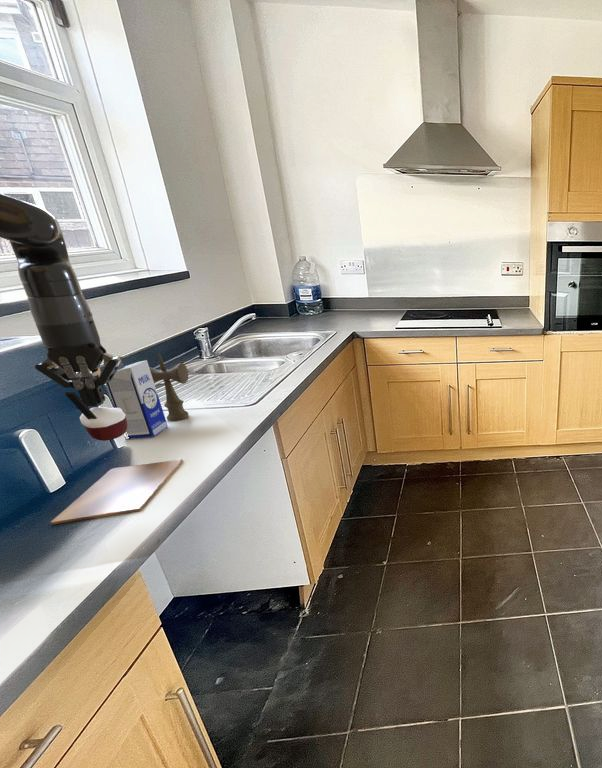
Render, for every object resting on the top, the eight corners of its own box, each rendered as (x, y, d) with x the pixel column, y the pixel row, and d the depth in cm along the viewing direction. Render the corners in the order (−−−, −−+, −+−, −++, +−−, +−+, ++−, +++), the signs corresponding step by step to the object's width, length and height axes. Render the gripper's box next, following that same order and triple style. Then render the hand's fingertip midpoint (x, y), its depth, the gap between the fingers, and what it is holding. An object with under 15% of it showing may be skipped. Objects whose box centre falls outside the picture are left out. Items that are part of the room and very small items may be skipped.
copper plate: (51, 524, 78) (50, 522, 78) (112, 470, 96) (111, 468, 96) (140, 511, 82) (139, 508, 82) (183, 461, 100) (182, 459, 100)
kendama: (193, 420, 122) (174, 354, 115) (154, 424, 120) (132, 357, 113) (200, 412, 128) (183, 349, 121) (163, 416, 125) (143, 352, 118)
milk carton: (153, 437, 112) (129, 366, 105) (124, 439, 110) (99, 368, 104) (168, 426, 118) (147, 359, 111) (141, 428, 117) (118, 360, 110)
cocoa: (123, 426, 90) (104, 374, 86) (144, 429, 88) (127, 376, 84) (69, 447, 81) (46, 389, 77) (92, 451, 80) (70, 393, 76)
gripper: (1, 325, 72) (40, 416, 78) (96, 321, 76) (126, 408, 81) (34, 317, 79) (67, 402, 85) (119, 314, 82) (145, 395, 88)
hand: (96, 405), depth 83 cm, fingers closed
